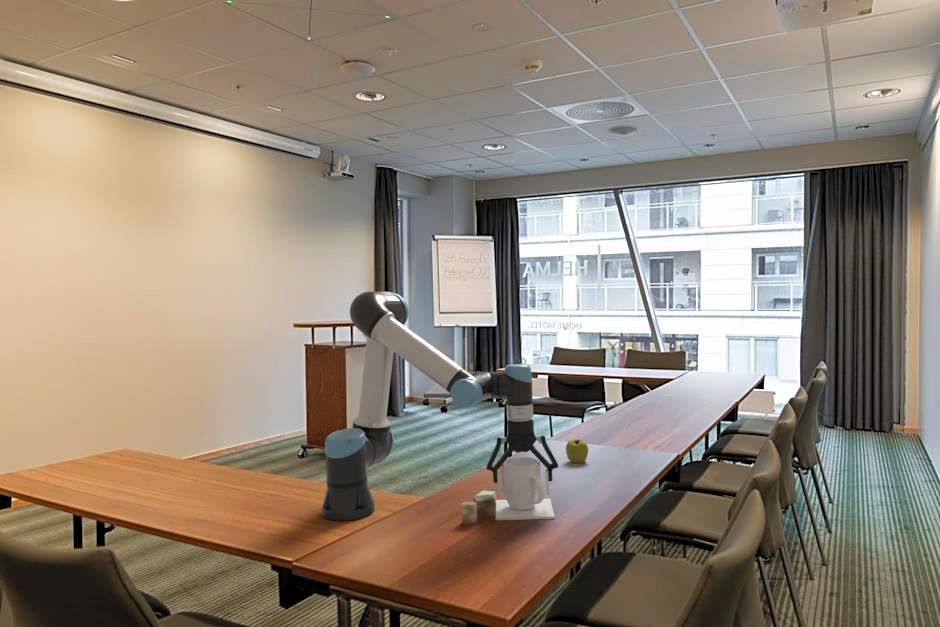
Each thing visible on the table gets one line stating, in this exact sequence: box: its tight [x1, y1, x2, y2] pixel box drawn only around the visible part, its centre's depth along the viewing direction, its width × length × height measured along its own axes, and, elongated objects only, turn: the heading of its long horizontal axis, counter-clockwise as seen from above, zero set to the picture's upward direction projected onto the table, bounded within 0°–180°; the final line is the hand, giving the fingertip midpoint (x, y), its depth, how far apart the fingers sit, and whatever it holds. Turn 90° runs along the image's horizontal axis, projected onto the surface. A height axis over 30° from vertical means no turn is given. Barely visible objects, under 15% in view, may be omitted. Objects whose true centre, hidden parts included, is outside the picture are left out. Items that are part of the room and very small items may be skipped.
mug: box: [501, 456, 545, 510], centre depth 183 cm, size 15×11×13 cm
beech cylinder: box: [461, 501, 478, 526], centre depth 175 cm, size 4×4×5 cm
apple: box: [565, 436, 589, 464], centre depth 234 cm, size 8×8×10 cm
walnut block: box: [473, 494, 496, 520], centre depth 181 cm, size 5×5×5 cm
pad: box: [495, 497, 555, 521], centre depth 184 cm, size 16×16×1 cm
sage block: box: [475, 490, 497, 506], centre depth 188 cm, size 4×6×4 cm, turn 155°
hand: (523, 493), depth 184 cm, fingers open, 13 cm apart
